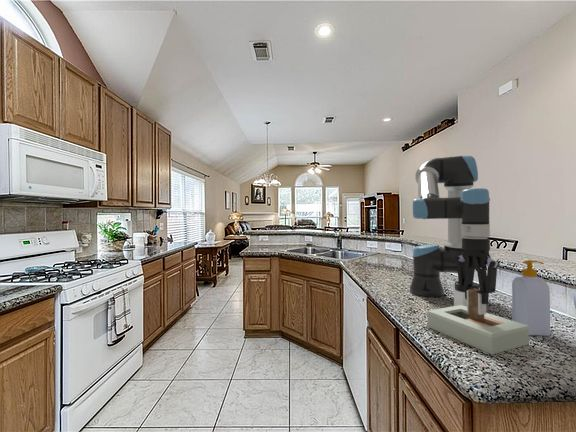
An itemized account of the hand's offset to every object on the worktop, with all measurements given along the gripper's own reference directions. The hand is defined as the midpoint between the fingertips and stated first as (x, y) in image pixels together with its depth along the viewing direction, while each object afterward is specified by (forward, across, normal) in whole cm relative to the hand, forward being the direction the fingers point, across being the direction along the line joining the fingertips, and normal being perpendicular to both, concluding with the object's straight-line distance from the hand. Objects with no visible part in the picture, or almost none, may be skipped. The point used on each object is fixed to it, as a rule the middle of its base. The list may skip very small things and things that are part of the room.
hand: (476, 311), depth 94 cm
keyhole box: (+8, -1, 0) cm, 8 cm away
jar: (+8, -15, +15) cm, 23 cm away
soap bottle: (+8, +4, +20) cm, 22 cm away
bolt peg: (+7, 0, 0) cm, 7 cm away
